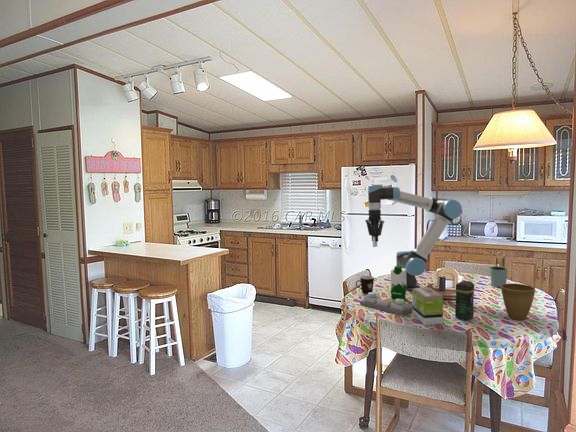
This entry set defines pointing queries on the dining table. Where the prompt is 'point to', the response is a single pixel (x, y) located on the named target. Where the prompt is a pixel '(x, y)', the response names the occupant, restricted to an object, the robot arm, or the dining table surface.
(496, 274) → the blue-grey cylindrical pot
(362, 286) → the coffee mug
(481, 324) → the dining table surface
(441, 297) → the tea box
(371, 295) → the slate button
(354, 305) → the dining table surface
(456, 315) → the coffee jar
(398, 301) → the sage button
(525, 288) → the plant pot
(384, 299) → the terracotta button
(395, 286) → the milk carton
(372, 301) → the button board
